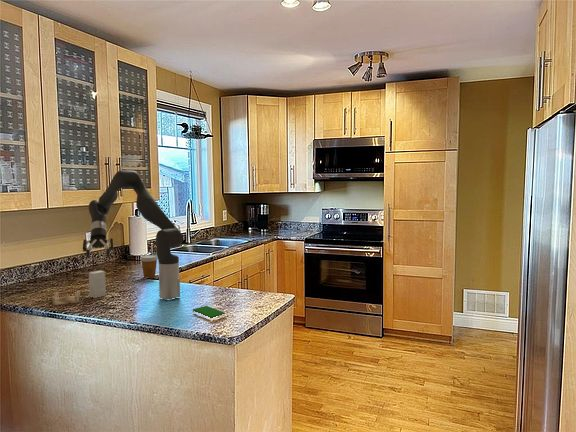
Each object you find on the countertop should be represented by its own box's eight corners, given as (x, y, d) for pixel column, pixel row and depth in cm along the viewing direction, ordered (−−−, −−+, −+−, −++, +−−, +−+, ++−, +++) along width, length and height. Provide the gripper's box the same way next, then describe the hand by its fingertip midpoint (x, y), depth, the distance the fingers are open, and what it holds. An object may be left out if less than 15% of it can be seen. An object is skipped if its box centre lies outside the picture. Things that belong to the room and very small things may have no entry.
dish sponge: (206, 310, 179) (206, 305, 179) (225, 318, 169) (225, 312, 169) (192, 314, 174) (192, 308, 174) (211, 322, 164) (211, 316, 164)
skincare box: (100, 294, 202) (99, 270, 200) (106, 295, 199) (105, 271, 198) (89, 297, 196) (88, 272, 195) (94, 298, 194) (93, 273, 193)
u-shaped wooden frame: (80, 296, 198) (79, 290, 197) (77, 302, 188) (77, 296, 187) (56, 298, 194) (56, 292, 194) (52, 305, 184) (52, 298, 184)
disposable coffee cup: (160, 275, 241) (160, 254, 240) (153, 279, 231) (153, 258, 230) (145, 274, 242) (144, 254, 241) (137, 278, 232) (137, 257, 231)
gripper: (83, 227, 211) (81, 253, 202) (113, 226, 216) (113, 251, 207) (84, 236, 217) (83, 261, 207) (113, 235, 222) (113, 260, 212)
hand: (98, 256), depth 207 cm, fingers open, 8 cm apart
